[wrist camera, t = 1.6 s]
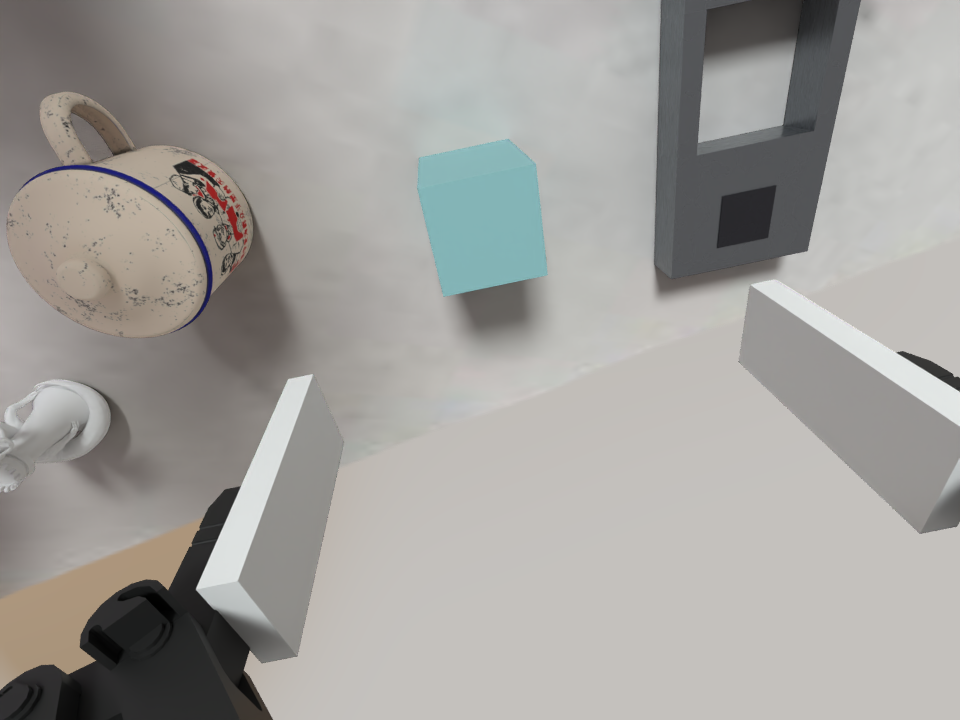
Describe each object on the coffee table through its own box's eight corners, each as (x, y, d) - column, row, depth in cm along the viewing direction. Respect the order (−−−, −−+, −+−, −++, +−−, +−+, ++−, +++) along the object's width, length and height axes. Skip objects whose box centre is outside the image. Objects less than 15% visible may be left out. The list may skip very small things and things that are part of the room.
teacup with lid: (280, 263, 34) (222, 345, 24) (158, 290, 34) (50, 383, 24) (193, 70, 27) (63, 74, 17) (43, 105, 27) (-170, 129, 18)
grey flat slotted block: (666, -181, 24) (696, -211, 21) (863, -224, 23) (917, -260, 21) (654, 264, 37) (671, 279, 34) (780, 238, 36) (808, 251, 34)
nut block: (418, 157, 31) (416, 188, 23) (509, 138, 31) (536, 163, 23) (438, 244, 34) (442, 296, 27) (520, 227, 34) (548, 275, 27)
